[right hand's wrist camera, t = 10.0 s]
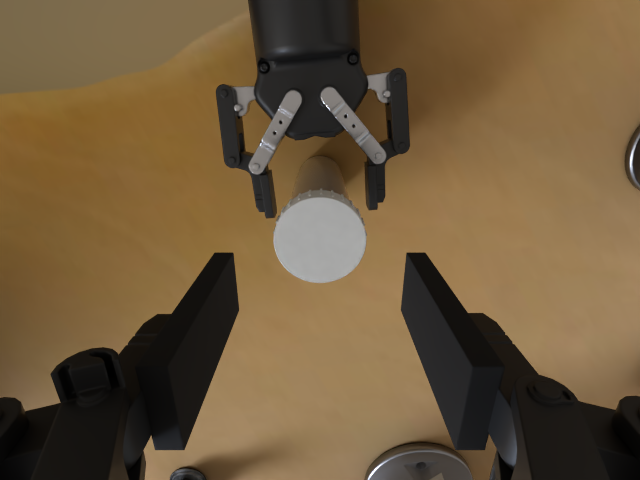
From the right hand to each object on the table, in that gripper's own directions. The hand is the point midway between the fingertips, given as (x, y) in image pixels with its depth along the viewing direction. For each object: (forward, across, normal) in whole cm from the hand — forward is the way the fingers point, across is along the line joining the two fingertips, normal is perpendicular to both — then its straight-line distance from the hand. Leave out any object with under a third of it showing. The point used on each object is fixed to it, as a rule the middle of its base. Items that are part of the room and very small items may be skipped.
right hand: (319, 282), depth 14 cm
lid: (+5, 0, 0) cm, 5 cm away
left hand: (+16, 0, -2) cm, 16 cm away
